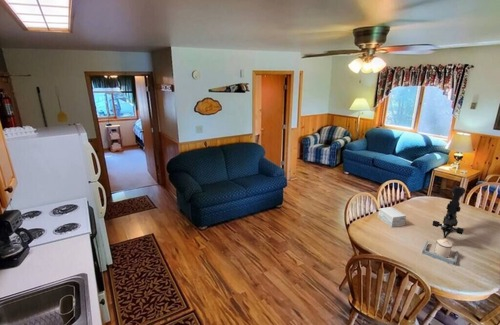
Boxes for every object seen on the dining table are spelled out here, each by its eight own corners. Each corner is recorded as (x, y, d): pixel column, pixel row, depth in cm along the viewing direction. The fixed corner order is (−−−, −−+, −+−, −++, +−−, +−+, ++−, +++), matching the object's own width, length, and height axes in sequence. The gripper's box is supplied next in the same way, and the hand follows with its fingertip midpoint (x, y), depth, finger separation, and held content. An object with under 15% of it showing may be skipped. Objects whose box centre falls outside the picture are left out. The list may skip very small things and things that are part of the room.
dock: (426, 243, 202) (426, 240, 201) (457, 254, 190) (458, 251, 189) (422, 253, 191) (422, 250, 190) (455, 265, 179) (456, 262, 178)
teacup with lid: (452, 258, 186) (456, 243, 183) (439, 257, 187) (443, 243, 183) (441, 247, 198) (445, 233, 194) (428, 247, 198) (432, 233, 194)
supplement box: (404, 225, 226) (406, 215, 223) (391, 227, 223) (393, 217, 220) (390, 215, 242) (391, 206, 239) (377, 217, 239) (379, 208, 236)
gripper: (435, 211, 202) (429, 230, 198) (466, 219, 190) (461, 239, 186) (435, 215, 210) (429, 234, 206) (465, 224, 198) (459, 244, 194)
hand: (444, 237), depth 198 cm, fingers closed
